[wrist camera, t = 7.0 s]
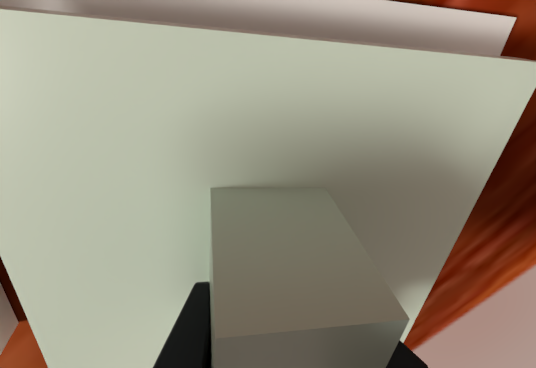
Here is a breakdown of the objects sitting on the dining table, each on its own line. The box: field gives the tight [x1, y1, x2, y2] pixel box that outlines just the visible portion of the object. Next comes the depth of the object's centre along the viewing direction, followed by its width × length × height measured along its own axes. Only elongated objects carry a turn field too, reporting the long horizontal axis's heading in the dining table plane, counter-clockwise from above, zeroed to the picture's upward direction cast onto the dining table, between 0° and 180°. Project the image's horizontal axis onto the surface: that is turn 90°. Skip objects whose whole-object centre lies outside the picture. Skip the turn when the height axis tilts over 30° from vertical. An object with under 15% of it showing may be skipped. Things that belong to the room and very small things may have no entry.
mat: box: [0, 0, 517, 56], centre depth 12 cm, size 15×15×1 cm
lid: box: [0, 5, 536, 368], centre depth 8 cm, size 13×13×5 cm
